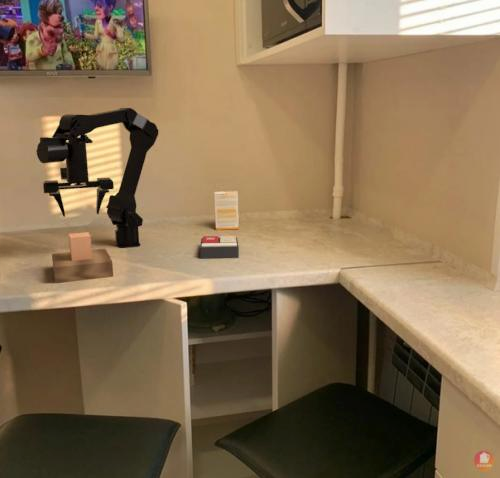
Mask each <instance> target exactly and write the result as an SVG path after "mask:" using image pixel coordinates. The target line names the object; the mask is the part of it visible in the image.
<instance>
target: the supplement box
mask: <svg viewBox="0 0 500 478" xmlns="http://www.w3.org/2000/svg"><path fill="white" fill-rule="evenodd" d="M213 195H214V197H213V198H214V199H213V200H214V220H215V222H214V223H215V230H216V231H222V230H223V231H224V230H225V231H226V230H239V229H240V225H239V223H240V221H239V193H238V190H220V191H219V190H217V191H214V193H213Z"/></svg>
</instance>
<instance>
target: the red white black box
mask: <svg viewBox="0 0 500 478" xmlns="http://www.w3.org/2000/svg"><path fill="white" fill-rule="evenodd" d="M239 250H240V249H239V241H238V237H236V235H220V236H218V235H214V236H213V235H208V236H206V235H204V236H202V237H201V239H200V244H199V259H200V260H208V259H209V260H212V259H218V260H219V259H220V260H221V259H239V258H240V253H239V252H240V251H239Z"/></svg>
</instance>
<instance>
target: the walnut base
mask: <svg viewBox="0 0 500 478" xmlns="http://www.w3.org/2000/svg"><path fill="white" fill-rule="evenodd" d="M51 259H52V268H53V269H52V270H53V276H54V282H55V284H59V283H68V282H69V283H70V282H75V281H76V282H77V281H84V280H85V281H87V280H94V279H103V278H112V277H114V270H113V269H114V268H113V265H114V264H113V261H112V259H111V256H110V254H109V252H108V250H107V248H99V249H92V259H85V260H76V261H72V259H71V254H70V251H68V252H66V251H65V252H58V253H55V252H54V253H51Z"/></svg>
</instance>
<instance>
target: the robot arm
mask: <svg viewBox="0 0 500 478" xmlns="http://www.w3.org/2000/svg"><path fill="white" fill-rule="evenodd" d="M121 123H122V124H123V127H124V129H125V130H127V132H129V142H130V151H129V154H128V158H127V161H126V165H125V168H124V172H123V176H122V177H121V178H122V179H121V182H120V185H119V190H118V191H117V193H116V194H115V195H113V194H111V195H110V196H109V198H108V203H107V205H106V206H105V208H106V215H107V216H108V219H110V221H111V224H112V225H113V226H116V229H115V230H114V234H115V235H114V236H115V237H114V238H115V243H116V245H117V246H118V247H119V248H128V247H138V246H139V247H140V246H141V243H140V237H139V235H140V234H139V233H140V232H139V227H142V226H143V221H144V219H143V218H142V217H141V216H140V215H139V214H138V213H137V201H136V197H135V195H136V193H137V189H138V184H139V182H140V179H141V178H140V177H141V175H142V171H143V168H144V164H145V161H146V156H147V153H148V151H150V149H151V148H152V147H154V145H155V143H156V141H157V138H158V136H159V129H158V127H157V125H156V123H154V122H152V121H150V120H149V119H148V118H147V117H145V116H143V115H141V114H140V113H138V112H137V111H136V110H135V109H133V108H131V107H120V108H118V109H113V110H109V111H102V112H97V113H93V114H70V113H69V114H64V115H62V116H60V119H59V123H58V126H57V128H56V129H55V131H54V132H53V134H52V136H51V137H50V136H49V137H48V136H47V137H46V136H42V137H41V136H40V138H39V143H38V144H37V147H36V156H37V159H38V161H39V162H40V163H41V164H51V163H61V162H64V161H65V166H66V167H60V170H59V171H60V172H59V173H60V179H61V180H62V181H64V180H65V181H66V182H59V181H58V180H57V179H56V180H55V179H54V180H53V179H52V180H44V182H43V183H42V186H43V188H42V189H43V193H44V194H48V195H49V197H53V198H54V200H55V201H56V203H57V205H58V207H59V209H60V212H61V214H62V216H63V217H66V214H65V213H66V212H65V208H64V207H65V206H64V202H63V198H62V195H61V191H60V190H73V189H90V188H91V189H92V188H96V204H95V205H96V207H95V209H96V210H95V211H96V215H99V214H100V210H101V206H102V202H103V200H104V198H105V196H106V193H110V190H114V189H115V188H114V181H113V179H111V178H110V177H97V178H96V180H91V181H89V180H90V179H89V169H88V168H89V165H88V155H87V152H88V151H87V144H93V142H94V141H93V140H92V139H91V138H89V136H88V134H89V133H91V132H93V131H94V130H95V129H98V128H103V127H107V126H112V125H117V124H121Z"/></svg>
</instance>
